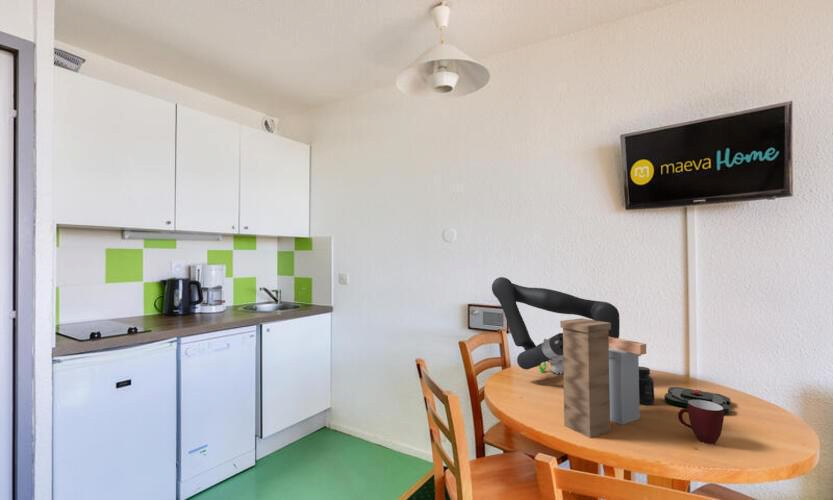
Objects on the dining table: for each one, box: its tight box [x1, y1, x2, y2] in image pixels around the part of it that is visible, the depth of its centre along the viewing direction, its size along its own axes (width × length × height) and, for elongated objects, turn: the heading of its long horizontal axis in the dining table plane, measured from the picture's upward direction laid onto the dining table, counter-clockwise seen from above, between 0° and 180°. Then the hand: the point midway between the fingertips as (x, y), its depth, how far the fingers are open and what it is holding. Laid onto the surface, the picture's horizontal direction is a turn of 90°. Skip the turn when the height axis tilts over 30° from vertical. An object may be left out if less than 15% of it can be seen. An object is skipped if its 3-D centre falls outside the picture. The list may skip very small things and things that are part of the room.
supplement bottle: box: [639, 366, 655, 406], centre depth 135 cm, size 7×7×12 cm
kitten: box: [538, 338, 564, 375], centre depth 170 cm, size 15×10×15 cm, turn 90°
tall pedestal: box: [559, 317, 611, 439], centre depth 114 cm, size 10×10×32 cm
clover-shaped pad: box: [663, 386, 731, 414], centre depth 133 cm, size 18×18×5 cm
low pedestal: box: [609, 348, 642, 426], centre depth 122 cm, size 10×10×22 cm
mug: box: [677, 400, 725, 445], centre depth 106 cm, size 10×8×10 cm
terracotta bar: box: [609, 337, 647, 356], centre depth 125 cm, size 22×3×3 cm, turn 28°
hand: (588, 330), depth 132 cm, fingers open, 8 cm apart
